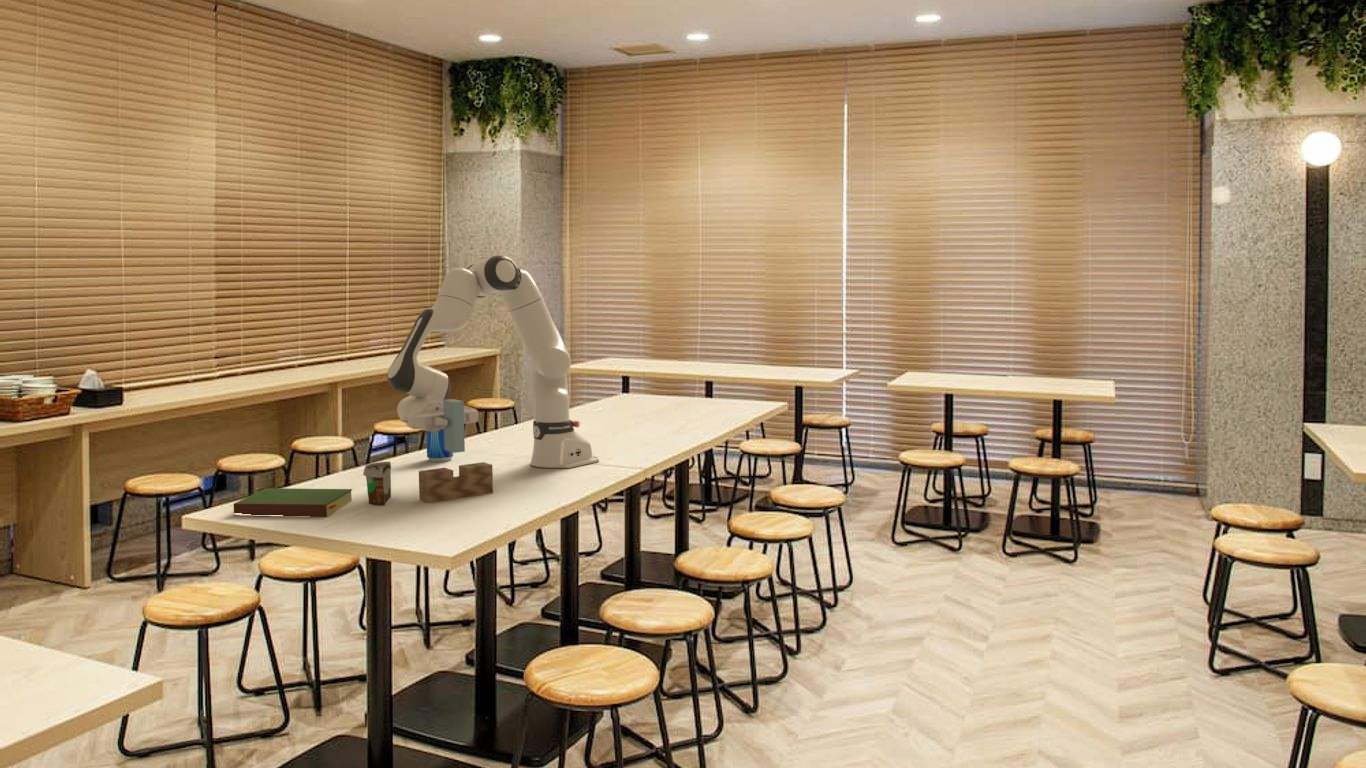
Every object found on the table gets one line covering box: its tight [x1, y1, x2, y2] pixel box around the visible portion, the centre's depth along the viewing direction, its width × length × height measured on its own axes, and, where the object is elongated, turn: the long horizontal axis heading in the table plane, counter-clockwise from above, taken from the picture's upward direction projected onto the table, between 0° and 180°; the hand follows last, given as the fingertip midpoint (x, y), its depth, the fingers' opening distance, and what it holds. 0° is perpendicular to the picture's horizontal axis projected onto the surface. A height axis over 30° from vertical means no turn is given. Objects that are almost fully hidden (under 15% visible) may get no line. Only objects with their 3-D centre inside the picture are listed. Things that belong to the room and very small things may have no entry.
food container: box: [363, 461, 392, 507], centre depth 292 cm, size 12×6×10 cm, turn 5°
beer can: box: [425, 429, 454, 463], centre depth 352 cm, size 8×8×16 cm
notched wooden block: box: [418, 461, 494, 504], centre depth 299 cm, size 20×5×8 cm, turn 130°
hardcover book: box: [233, 487, 353, 518], centre depth 286 cm, size 25×19×4 cm
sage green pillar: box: [443, 398, 466, 454], centre depth 297 cm, size 3×6×14 cm, turn 40°
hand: (455, 421), depth 297 cm, fingers closed on sage green pillar, 3 cm apart
